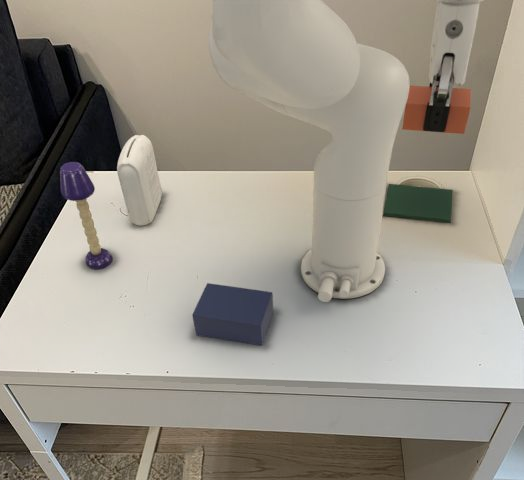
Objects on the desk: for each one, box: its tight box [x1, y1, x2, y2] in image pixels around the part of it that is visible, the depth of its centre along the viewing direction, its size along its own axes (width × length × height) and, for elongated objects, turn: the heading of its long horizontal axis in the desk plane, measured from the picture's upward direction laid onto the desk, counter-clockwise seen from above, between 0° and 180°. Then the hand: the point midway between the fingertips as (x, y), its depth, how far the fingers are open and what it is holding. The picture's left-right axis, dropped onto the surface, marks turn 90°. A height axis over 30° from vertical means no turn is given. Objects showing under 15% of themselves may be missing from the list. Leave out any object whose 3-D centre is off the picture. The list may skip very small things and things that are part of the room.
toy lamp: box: [59, 161, 114, 270], centre depth 81 cm, size 5×5×17 cm
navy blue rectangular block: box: [191, 282, 274, 346], centre depth 75 cm, size 6×10×4 cm
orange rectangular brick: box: [401, 85, 472, 135], centre depth 82 cm, size 6×9×4 cm, turn 76°
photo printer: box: [116, 134, 163, 226], centre depth 92 cm, size 10×4×12 cm, turn 175°
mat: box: [382, 183, 454, 224], centre depth 94 cm, size 9×11×1 cm
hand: (435, 118), depth 83 cm, fingers closed on orange rectangular brick, 6 cm apart
